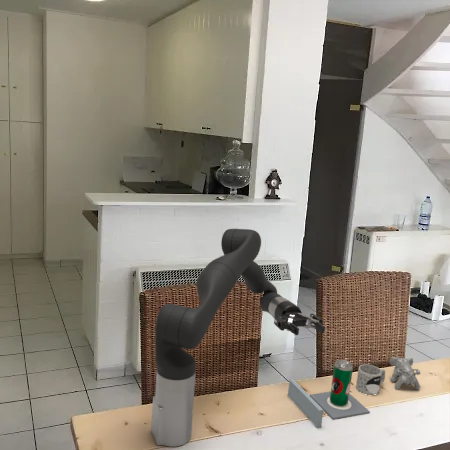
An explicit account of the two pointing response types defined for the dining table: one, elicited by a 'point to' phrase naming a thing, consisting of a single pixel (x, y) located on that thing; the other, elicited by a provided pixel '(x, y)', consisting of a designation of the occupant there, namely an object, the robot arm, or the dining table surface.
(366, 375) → the mug
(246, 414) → the dining table surface
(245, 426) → the dining table surface
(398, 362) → the elephant statuette
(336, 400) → the soda can
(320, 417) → the acrylic wall
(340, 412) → the slate pad
